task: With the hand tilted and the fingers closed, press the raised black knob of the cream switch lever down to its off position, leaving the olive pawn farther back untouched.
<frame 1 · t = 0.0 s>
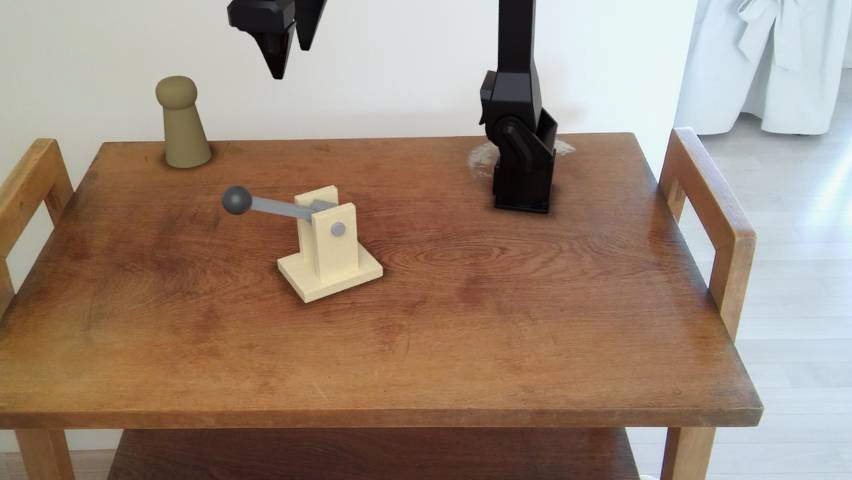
hand: (292, 64, 90), 15 cm above the serving cart top, tool pointing down, fingers open, 9 cm apart
switch lever: (283, 208, 74), point 9 cm above the serving cart top, hinge at 28.0°
switch bracket: (330, 272, 82), on the serving cart top
olive pawn: (189, 158, 104), on the serving cart top
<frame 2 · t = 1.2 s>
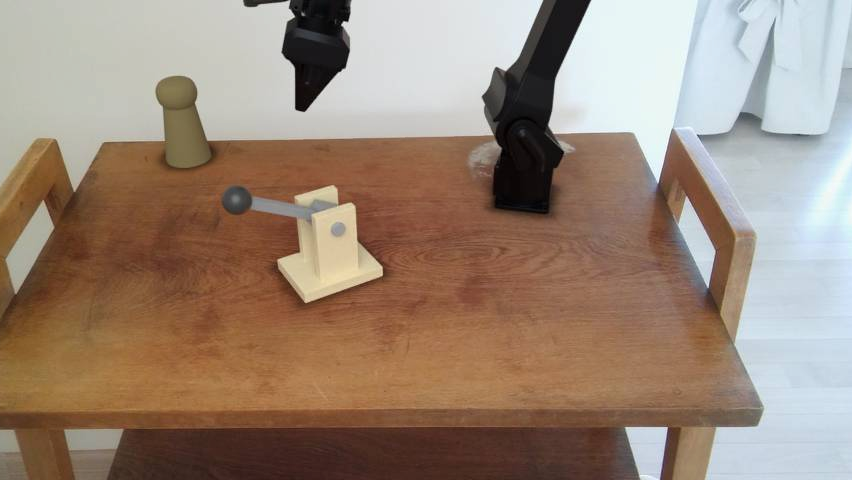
hand: (301, 91, 83), 15 cm above the serving cart top, tool tilted 15°, fingers open, 9 cm apart
nothing on the serving cart top moved.
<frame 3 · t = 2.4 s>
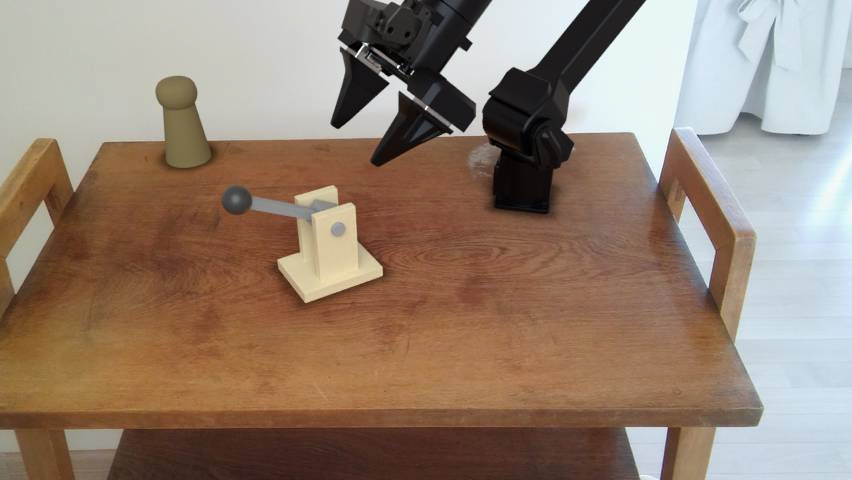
hand: (352, 145, 76), 14 cm above the serving cart top, tool tilted 40°, fingers open, 9 cm apart
nothing on the serving cart top moved.
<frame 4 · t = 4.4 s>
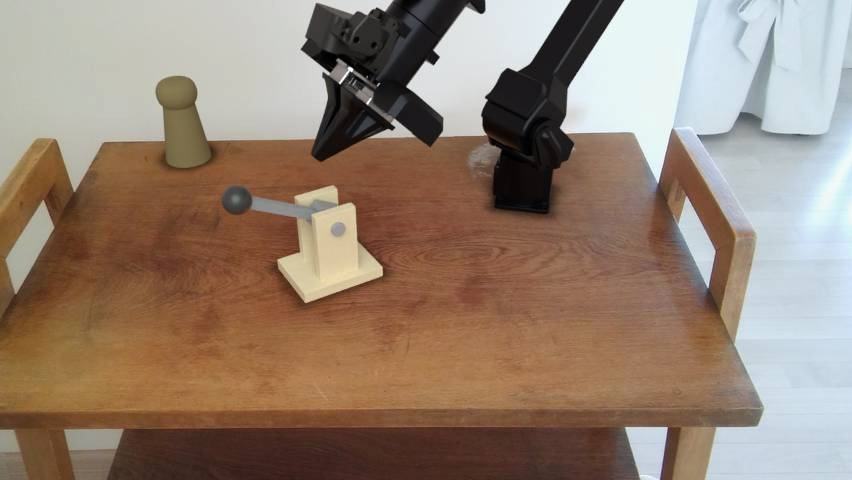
hand: (315, 158, 73), 14 cm above the serving cart top, tool tilted 45°, fingers closed
nothing on the serving cart top moved.
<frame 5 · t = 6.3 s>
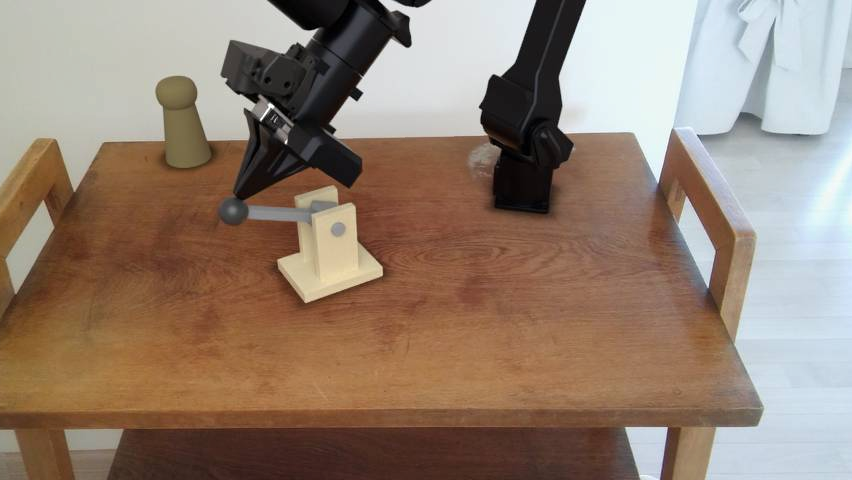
hand: (237, 197, 71), 12 cm above the serving cart top, tool tilted 45°, fingers closed, pressing on switch lever
switch lever: (281, 213, 75), point 9 cm above the serving cart top, hinge at 21.2°, touching gripper
everything else where it was.
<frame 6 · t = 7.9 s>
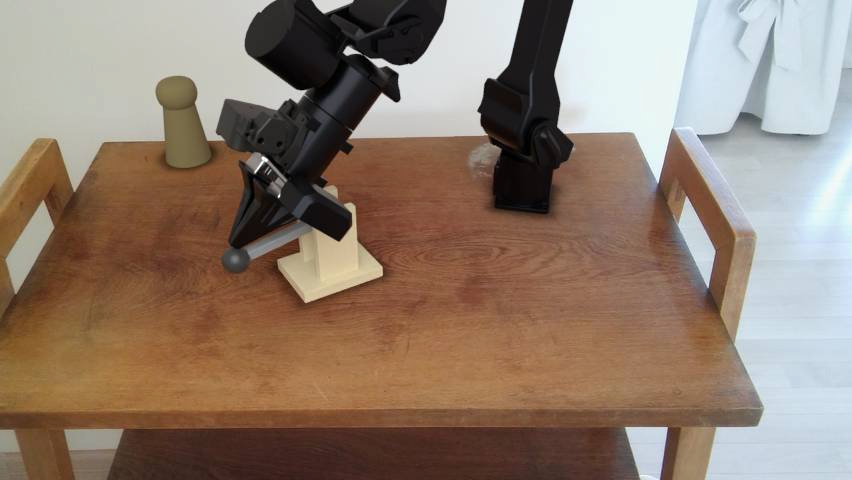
hand: (232, 245, 74), 7 cm above the serving cart top, tool tilted 45°, fingers closed, pressing on switch lever
switch lever: (281, 237, 76), point 6 cm above the serving cart top, hinge at -10.1°, touching gripper
everything else where it was.
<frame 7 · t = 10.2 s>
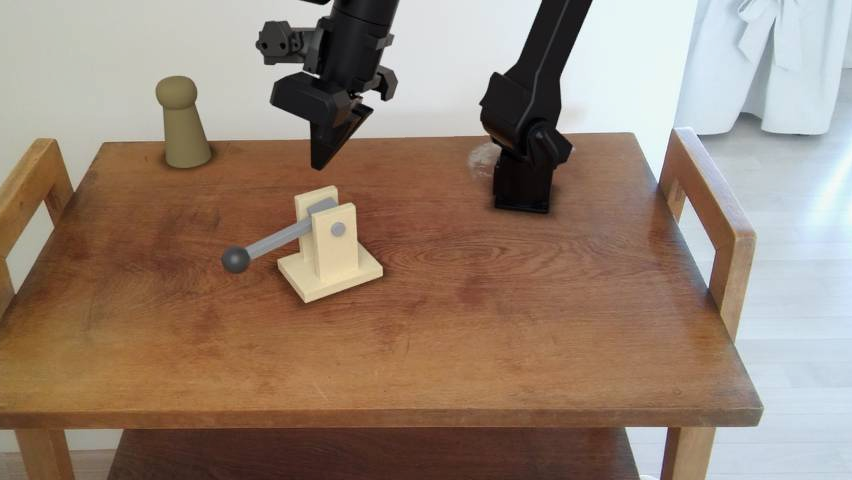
hand: (316, 168, 77), 11 cm above the serving cart top, tool tilted 20°, fingers closed
switch lever: (281, 237, 76), point 6 cm above the serving cart top, hinge at -10.1°
everything else where it was.
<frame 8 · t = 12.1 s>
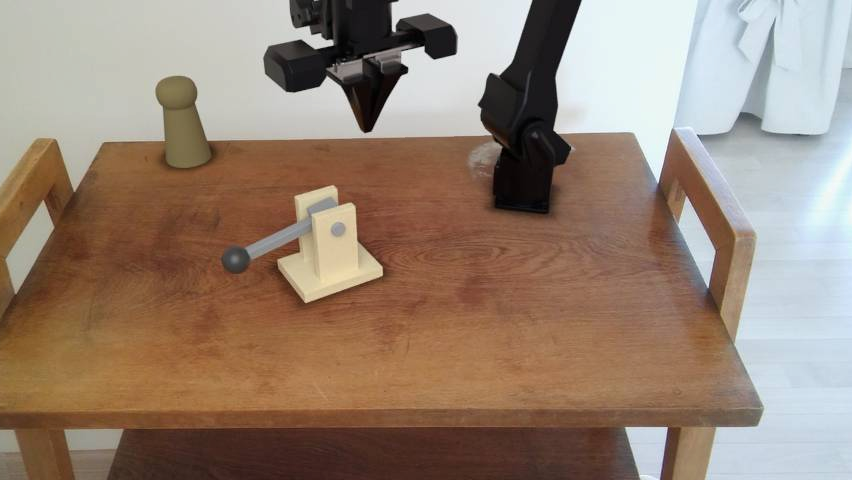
hand: (366, 131, 79), 13 cm above the serving cart top, tool pointing down, fingers closed
nothing on the serving cart top moved.
at the end: switch lever at -10° (first picture: +28°); olive pawn moved 0.2 cm from its start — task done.
